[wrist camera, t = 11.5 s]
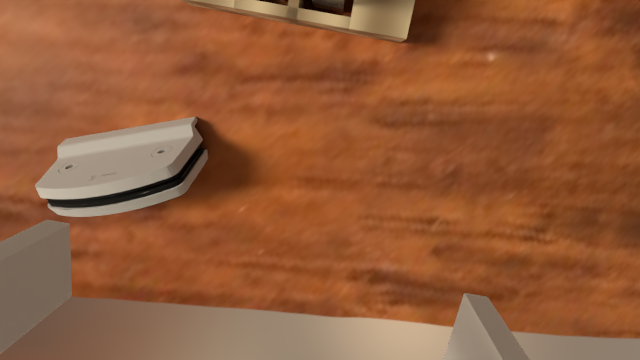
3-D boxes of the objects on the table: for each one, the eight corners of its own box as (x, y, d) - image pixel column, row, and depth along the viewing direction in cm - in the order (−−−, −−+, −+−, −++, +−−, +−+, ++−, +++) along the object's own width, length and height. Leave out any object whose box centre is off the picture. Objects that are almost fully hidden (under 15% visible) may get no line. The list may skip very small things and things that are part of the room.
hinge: (199, 115, 41) (170, 163, 33) (213, 151, 44) (190, 203, 36) (62, 139, 43) (3, 190, 35) (84, 172, 45) (34, 227, 37)
